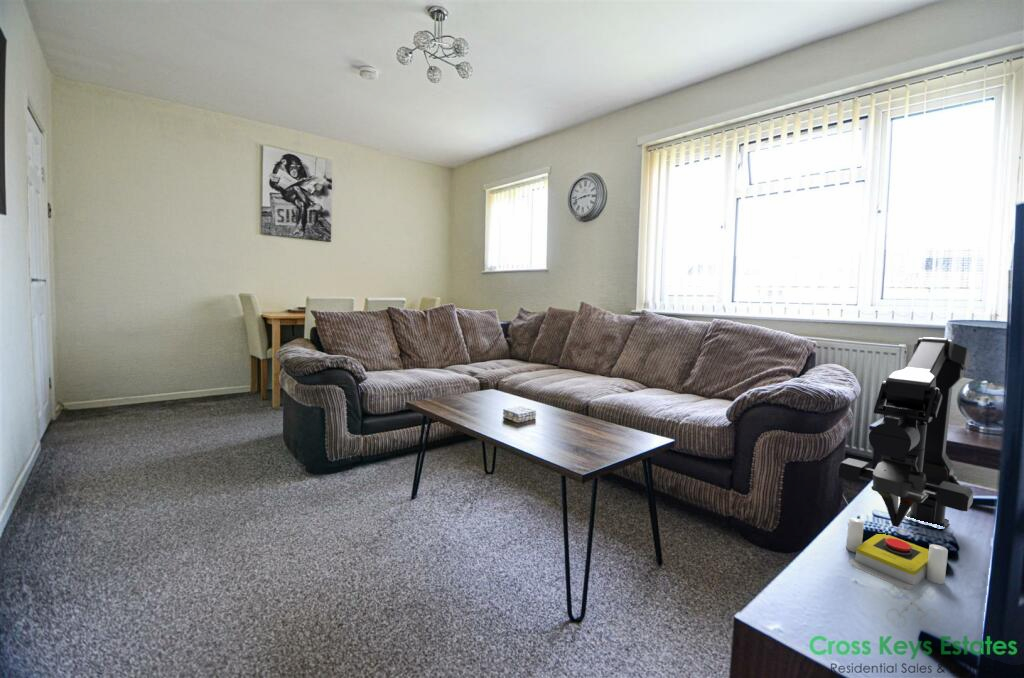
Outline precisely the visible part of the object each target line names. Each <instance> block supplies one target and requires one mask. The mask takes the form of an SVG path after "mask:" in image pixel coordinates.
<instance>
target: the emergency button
mask: <svg viewBox="0 0 1024 678" xmlns="http://www.w3.org/2000/svg"><path fill="white" fill-rule="evenodd" d="M886 534H887V533H885V534H877V533H876V534H875V535H873V536H871V537H870V538H868V539H867V540H865V541H862V544H860V545H859V546H857V549H856V552H855V556H854V558H853V559H851V560H850V561H849V565H851V566H852V567H853V568H855V569H858V570H860V571H863V572H865V573H867V574H869V575H871V576H874V577H876V578H879V579H881V580H883V581H886V582H887V583H890V584H892V585H894V586H897V587H898V588H901V589H903V590H909V591H911V590H912V589H913V588H916V586H917V585H919V583H921V582H922V581H923V580H924V579H925V578H926V575H927V565H928V555H929V548H925V547H922V546H920V545H917V544H915V543H912V542H909V541H905V540H903V539H900V538H898V537H896V536H892V535H890V534H888V535H886Z"/></svg>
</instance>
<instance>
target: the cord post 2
mask: <svg viewBox="0 0 1024 678" xmlns="http://www.w3.org/2000/svg"><path fill="white" fill-rule="evenodd" d="M928 550H929V555H928V565H927V575H926V577H925V578H926V579H927V580H928V581H930V582H932V583H935V584H939V585H944V584H945V583H946V582H945V581H946V572H947V563H948V553H949V550H948V549H947V548H946V547H944V546H943V545H939V544H933V543H932V544H929V547H928Z"/></svg>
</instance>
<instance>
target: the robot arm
mask: <svg viewBox="0 0 1024 678" xmlns="http://www.w3.org/2000/svg"><path fill="white" fill-rule="evenodd" d="M970 362H971V353H970V351H969V349H968V348H967V347H965V346H962V345H959V344H957V343H954V341H953V340H952V339H949V338H947V337H946V338H945V337H943V338H942V337H930V336H929V337H928V336H927V337H924V336H923V337H919V338H918V340H917V342H916V343H914V345H913V350H912V354H911V358H910V359H909V361H908V363H907V364H906V365H905V367H904V368H903V369H899V370H894V371H893V372H892V373H891V374H890V375H889V376H888V377H887V378H886V379H885V380H883V381H882V383H881V385H880V388H879V392H878V396H877V398H876V402H875V404H874V408H873V414H876V415H881V416H882V415H883V420H882V422H880V423H879V424H877V425H875V426H874V427H872V429H871V430H870V432H869V433H868V442H869V444H870V445H871V447H872V449H873V450H874V451H875V452H877V453H878V454H880V459H879V460H878V462H877V464H876V466H875V468H874V469H873V468H870V462H867V461H863V460H860V459H856V458H850V457H848V458H845V459H844V460H843V461H841V462H839V463H838V464H837V466H836V473H835V476H836V477H837V478H840V479H844V480H849V481H851V482H855V481H857V480H859V479H860V478H865V479H870V480H872V486H871V490H872V491H874V492H877V493H878V494H879V495H880V496H881V498H882V501H883V502H884V504H885V506H886V510H887V514H888V516H889V519H890V522H891V525H892V526H893V527H897V528H899V527H900V525H901V523H903V520H904V519H905V516H907V517H910V518H914V519H916V520H920V521H924V522H928V523H932V524H937V525H940V526H943V527H945V526H946V527H947V526H948V525H949V523H950V520H949V519H946V509H947V508H950V509H952V510H953V509H954V510H956V511H960V512H968V510H969V509H970V508H971V506H972V505H973V501H974V491H973V489H971V487H970V486H965V485H962V484H960V483H959V482H958V477H957V476H956V475H954V474H955V473H954V471H955V465H954V463H953V462H952V461H951V459H950V458H949V456H948V454H947V451H946V450H947V440H948V439H947V438H948V432H949V422H950V412H951V405H952V393H953V387H955V386H956V385H957V384H958V382H960V381H961V379H963V377H964V376H965V372H966V371H969V368H970V364H971V363H970ZM946 527H945V528H946Z"/></svg>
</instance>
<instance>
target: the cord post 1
mask: <svg viewBox="0 0 1024 678" xmlns="http://www.w3.org/2000/svg"><path fill="white" fill-rule="evenodd" d="M847 526H848V527H847V533H846V534H847V535H846V545H845V548H846V549H847V550H848V551H849V552H850V551H851V552H852V553H856V549H857V546H859V545H860V544H862V543H863V538H864V526H865V522H864V521H863V520H862V519H860V518H856V517H849V518H848V525H847Z"/></svg>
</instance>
